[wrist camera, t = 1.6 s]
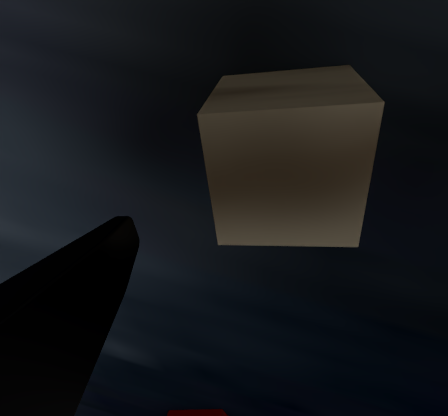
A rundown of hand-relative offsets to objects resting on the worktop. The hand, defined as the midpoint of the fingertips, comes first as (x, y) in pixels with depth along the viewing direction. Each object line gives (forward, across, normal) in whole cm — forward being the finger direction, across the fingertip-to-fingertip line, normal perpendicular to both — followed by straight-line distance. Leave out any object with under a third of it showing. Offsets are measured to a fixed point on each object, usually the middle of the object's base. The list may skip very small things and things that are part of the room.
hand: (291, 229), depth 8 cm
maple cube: (+7, 0, 0) cm, 7 cm away
